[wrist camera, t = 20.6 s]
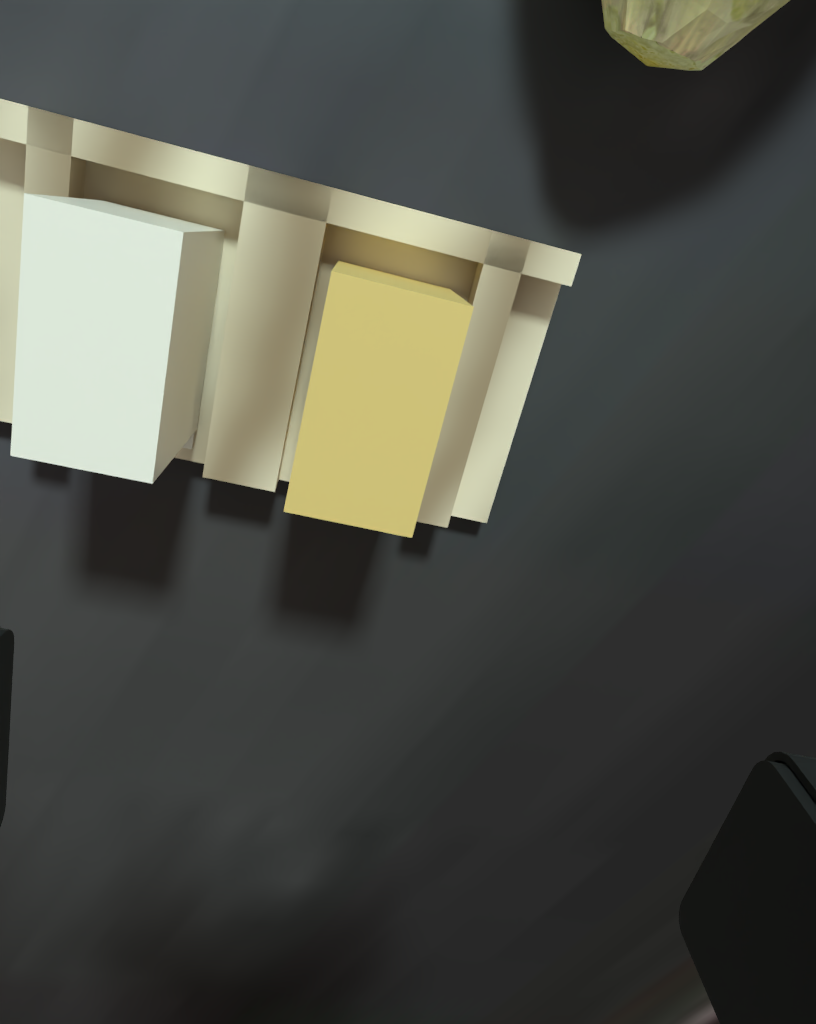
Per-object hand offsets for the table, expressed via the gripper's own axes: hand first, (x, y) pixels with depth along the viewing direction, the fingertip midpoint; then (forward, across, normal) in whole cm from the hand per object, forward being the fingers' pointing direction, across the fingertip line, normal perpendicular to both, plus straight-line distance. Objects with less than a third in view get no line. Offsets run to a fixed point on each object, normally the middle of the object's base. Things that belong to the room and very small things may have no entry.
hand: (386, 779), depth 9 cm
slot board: (+24, +4, 0) cm, 25 cm away
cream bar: (+23, +9, 0) cm, 25 cm away
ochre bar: (+23, 0, 0) cm, 23 cm away
